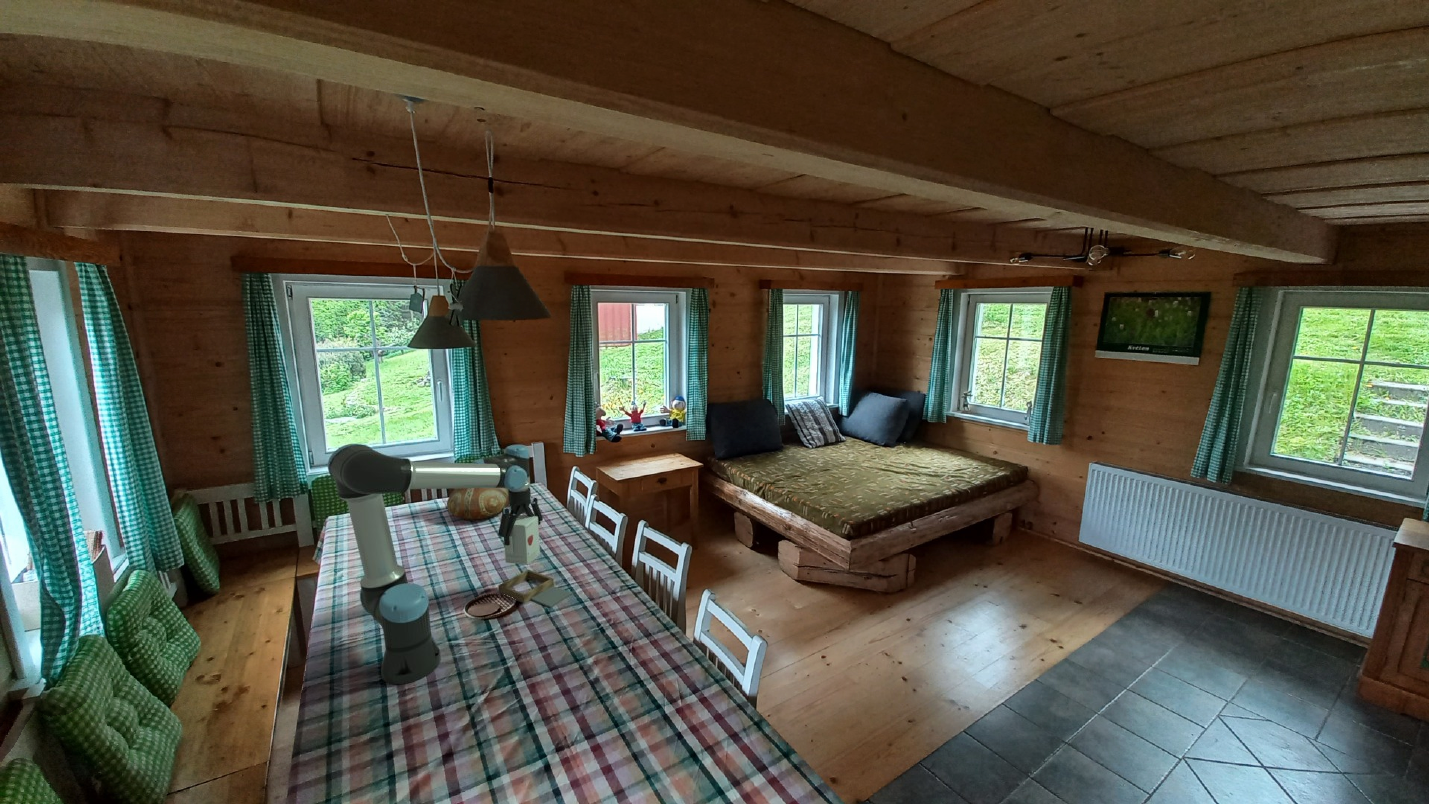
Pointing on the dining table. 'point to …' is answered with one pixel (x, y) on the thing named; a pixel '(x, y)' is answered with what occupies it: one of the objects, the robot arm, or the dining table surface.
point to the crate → (521, 597)
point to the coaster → (551, 596)
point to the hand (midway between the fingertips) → (522, 547)
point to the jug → (477, 502)
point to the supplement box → (524, 541)
